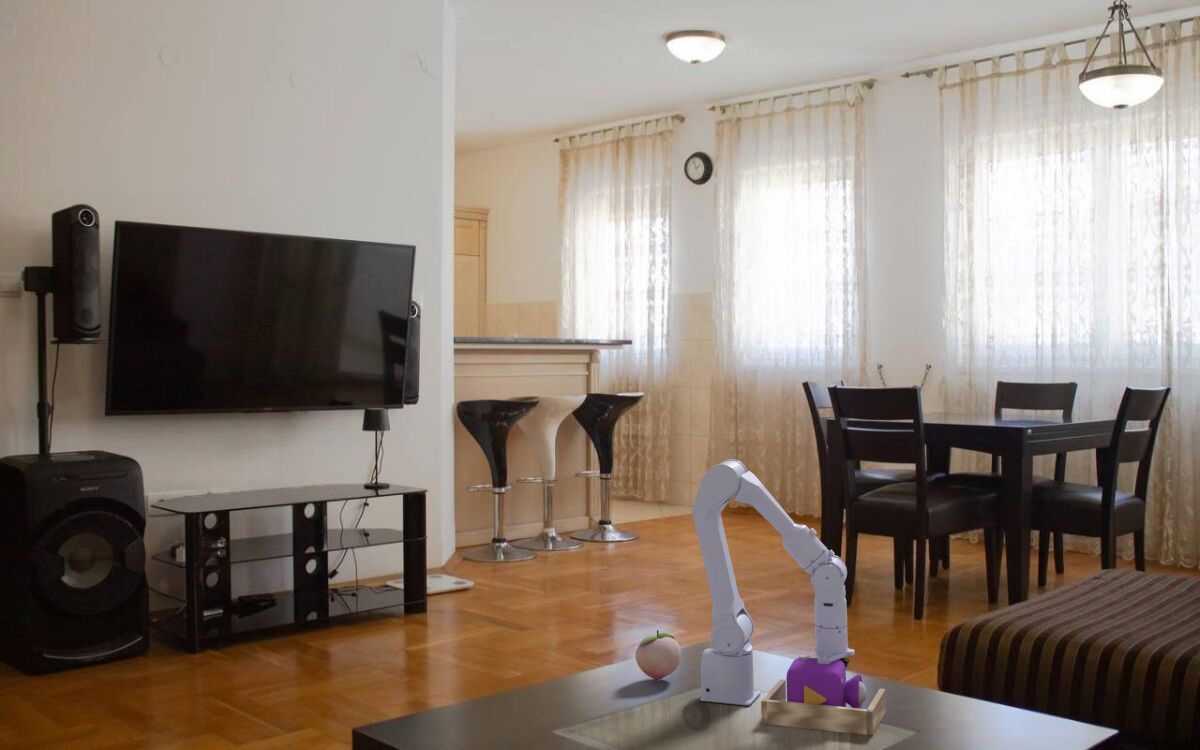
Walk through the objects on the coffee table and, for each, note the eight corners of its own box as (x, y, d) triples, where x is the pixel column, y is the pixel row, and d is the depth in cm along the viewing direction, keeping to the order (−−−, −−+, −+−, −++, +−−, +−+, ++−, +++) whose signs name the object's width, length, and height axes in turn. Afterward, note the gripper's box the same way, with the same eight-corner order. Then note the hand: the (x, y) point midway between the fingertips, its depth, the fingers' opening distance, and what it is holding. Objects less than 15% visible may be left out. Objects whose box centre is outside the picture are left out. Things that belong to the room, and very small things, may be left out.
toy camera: (869, 728, 189) (868, 670, 188) (788, 727, 191) (786, 669, 190) (863, 707, 199) (862, 652, 199) (786, 707, 201) (784, 652, 201)
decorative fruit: (663, 690, 213) (662, 638, 213) (629, 683, 219) (628, 633, 218) (691, 678, 221) (689, 628, 221) (657, 671, 226) (656, 622, 226)
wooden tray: (761, 723, 193) (761, 700, 193) (780, 701, 205) (780, 679, 205) (872, 735, 185) (872, 711, 185) (886, 711, 197) (885, 688, 197)
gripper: (845, 636, 193) (847, 714, 193) (860, 616, 206) (863, 689, 206) (804, 633, 196) (807, 710, 196) (822, 614, 209) (825, 686, 209)
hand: (833, 699), depth 201 cm, fingers closed
